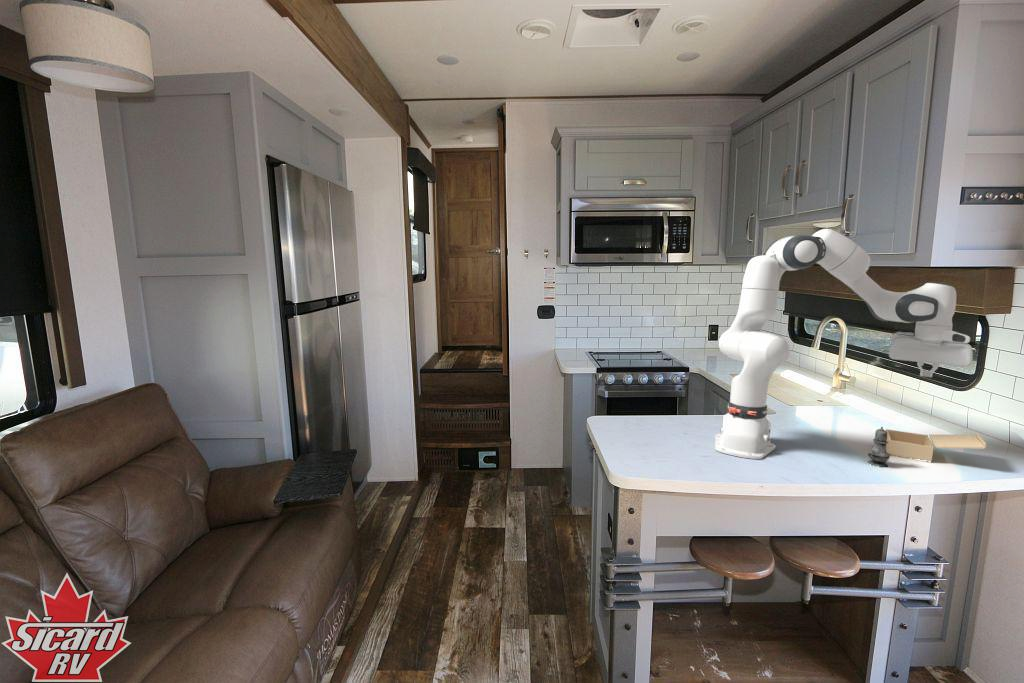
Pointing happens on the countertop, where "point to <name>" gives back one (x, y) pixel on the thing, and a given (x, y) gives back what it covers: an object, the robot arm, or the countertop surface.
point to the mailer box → (909, 445)
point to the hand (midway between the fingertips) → (925, 376)
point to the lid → (958, 441)
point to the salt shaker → (879, 449)
